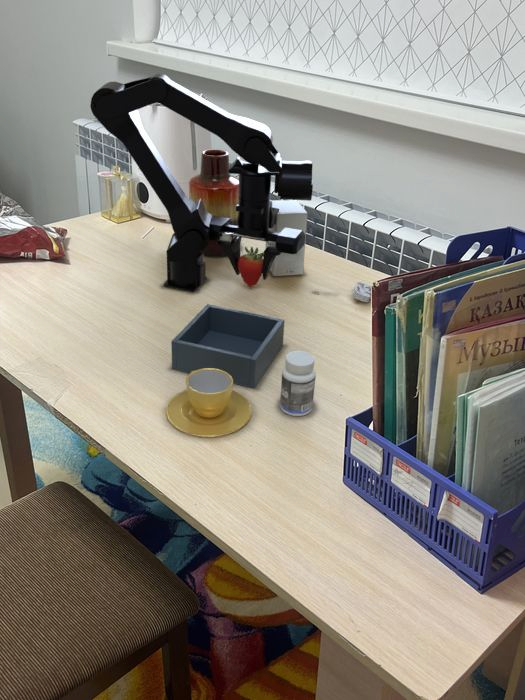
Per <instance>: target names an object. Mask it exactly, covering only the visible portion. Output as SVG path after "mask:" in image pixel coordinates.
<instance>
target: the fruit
mask: <svg viewBox="0 0 525 700" xmlns="http://www.w3.org/2000/svg"><path fill="white" fill-rule="evenodd" d="M253 247H254V246H251V247H250V250H249V249H248V247H246V246H245V247H244V250H245V252H246V253H245V254H242V255H240V256H241V257H240V258H239V260H238V270H239V272H240V274H239V275H240V276H241V279H242V281H243V282H244V283H245V285H246V286H247V287H254V286H256V285H257V284H258V283H259V281H260V279H261V278H262V276H263V275H262V271H263V255H264V252H260V253H259V248H258V246H256V248H255V250H254V248H253Z"/></svg>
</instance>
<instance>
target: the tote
mask: <svg viewBox="0 0 525 700" xmlns="http://www.w3.org/2000/svg"><path fill="white" fill-rule="evenodd" d="M284 334H285V319H283V318H279V317H274V316H268V315H264V314H258V313H255V312H248V311H244V310H239V309H234V308H229V307H225V306H220V305H215V304H209V303H207V304H206V305H205V306H204V307H203V308H202V309H201V310H200V311H199V312H198V313H197V314H196V315H195V316H194V317H193V318H192V319H191V320H190V321H189V322H188V323H187V324H186V325H185V326H184V327H183V328H182V329H181V331H179V333H177V335H176V336H175V337H174V338H173V339H172V340H171V342H170V344H171V346H170V348H171V369H172V370H173V371H179V372H184V373H186V374H187V373H188V374H190V373H191V371H194V370H200V369H206V368H213V369H219V370H222V371H225V372H227V373H228V374H230V375H231V377H232V378H233V385H238V386H243V387H246V388H251V389H256V387H257V386H258V384H259V382H260V381H261V379H262V378H263V376H264V375H265V374H266V372H267V371H268V369H269V368H270V366H271V365H272V363H273V362H274V360H275V359H276V357H277V356H278V354H279V353H280V351H281V350H282V348H283V346H284V336H285V335H284Z"/></svg>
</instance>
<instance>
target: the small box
mask: <svg viewBox="0 0 525 700" xmlns="http://www.w3.org/2000/svg"><path fill="white" fill-rule="evenodd" d="M272 208H279V212H278V213H277V217H276V225H275V224H274V227H273V228H269V231H271V232H279V233H280V232H281V231H282V230H283V229H284V228H291V229H298V230H302V231H303V232H304V234H305V242H306V241H307V227H308V216H309V215H308V214H309V213H308V212H307V211H306V209H305V208H304V207H303V205H302V204H301V203H300V201H299V200H286V199H278V200H272ZM268 246H269V244H268V242H266V241H265V247H264V250H265V249H266V248H267V247H268ZM305 251H306V243H305V244H304V246H303V247H302V248H301V249H300V250H299V252H298V253H297V254H288V253H281V254H280V255H278V256H276V257H275V259H274V261H273V264H272V266H271V269H270V271H269V272H270V273H271V275H272V276H273V277H283V276H298V275H300V276H301V275H303V274H304V269H305V268H304V267H305V253H306V252H305Z"/></svg>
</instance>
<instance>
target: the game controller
mask: <svg viewBox="0 0 525 700" xmlns="http://www.w3.org/2000/svg"><path fill="white" fill-rule="evenodd" d="M371 288H372V285H371V284H370V283H366V282H361V281H359V282H356V283H355V285H354V287H353V290H352V296H353V297H354V298H355V299H356V300H358V301H361V302H363V303H369V302H370V300H372V299H371V290H372V289H371ZM338 290H341V288H340V289H337V291H338ZM342 290H344V291H346V292H348V293H350V291H349V290H346V289H345V288H343V289H342ZM316 291H318V289H317V290H315V292H316ZM323 291H324V292H326V290H324V289H323ZM327 293H330V294H331V293H332V294H333V293H334V291H327Z"/></svg>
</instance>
